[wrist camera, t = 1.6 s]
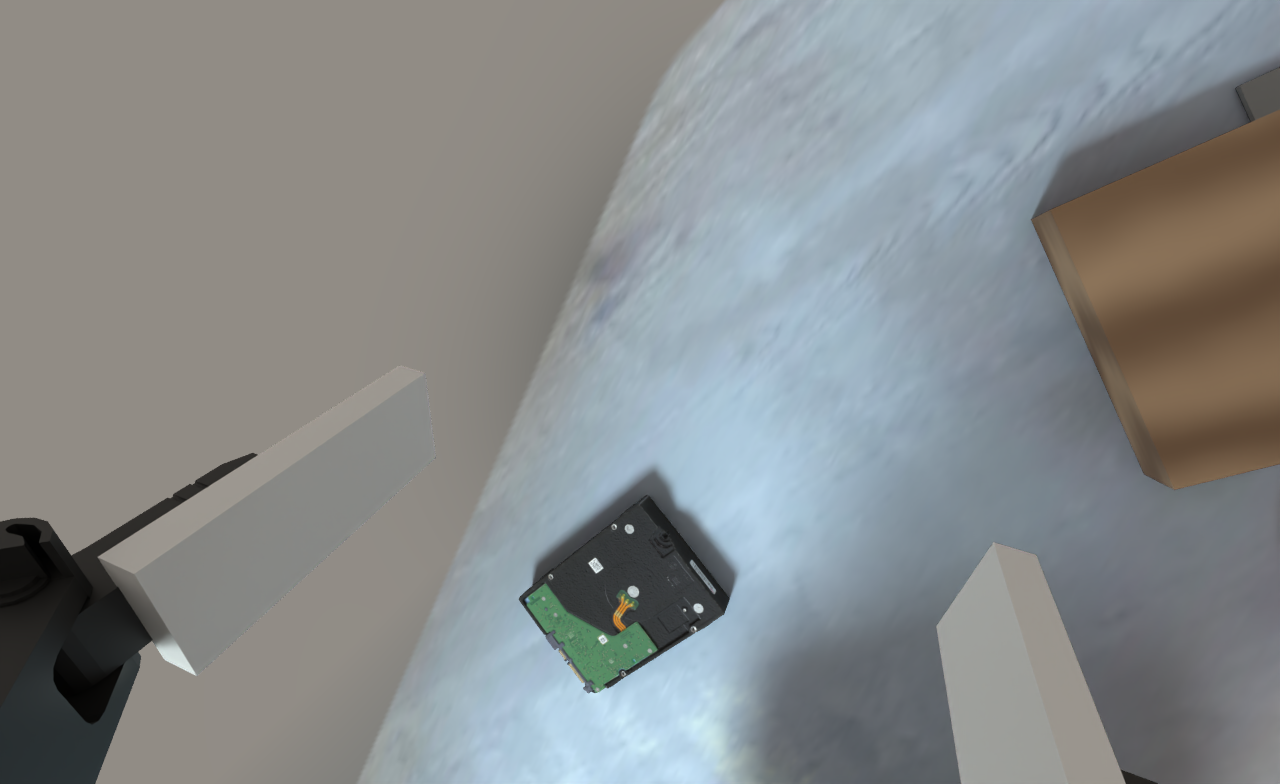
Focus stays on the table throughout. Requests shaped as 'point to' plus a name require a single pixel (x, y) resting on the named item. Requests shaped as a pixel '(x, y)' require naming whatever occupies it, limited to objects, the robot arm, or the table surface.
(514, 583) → the table surface
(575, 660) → the disk drive
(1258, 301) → the walnut ledge
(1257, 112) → the rubber mat
